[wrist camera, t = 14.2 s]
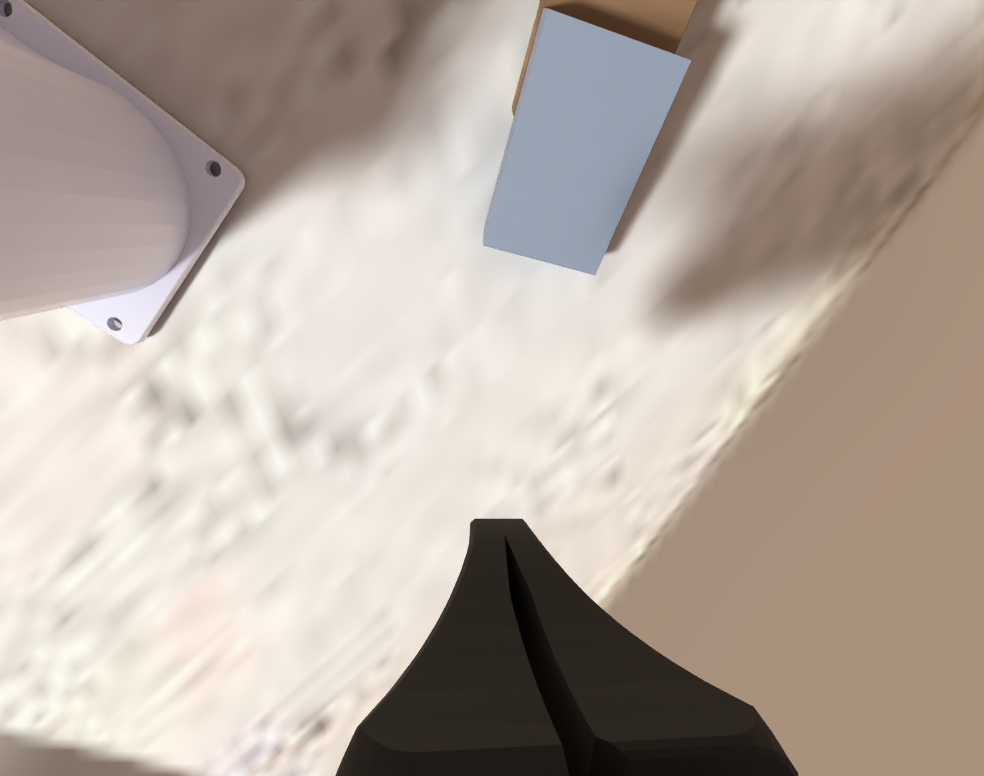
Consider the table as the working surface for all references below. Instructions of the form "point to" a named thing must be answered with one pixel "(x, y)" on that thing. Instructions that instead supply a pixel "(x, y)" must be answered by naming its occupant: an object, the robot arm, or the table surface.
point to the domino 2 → (578, 141)
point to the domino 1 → (622, 22)
